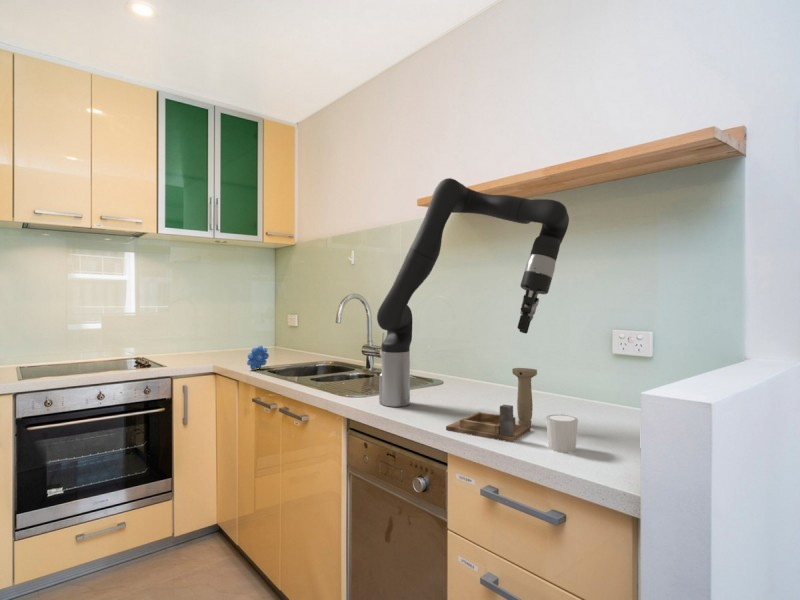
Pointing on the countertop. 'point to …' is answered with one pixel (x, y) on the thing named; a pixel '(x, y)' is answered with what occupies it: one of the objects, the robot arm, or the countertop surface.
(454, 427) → the seat board
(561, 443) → the white faceted cup
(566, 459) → the countertop surface
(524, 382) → the handle
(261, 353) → the grapes
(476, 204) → the robot arm
